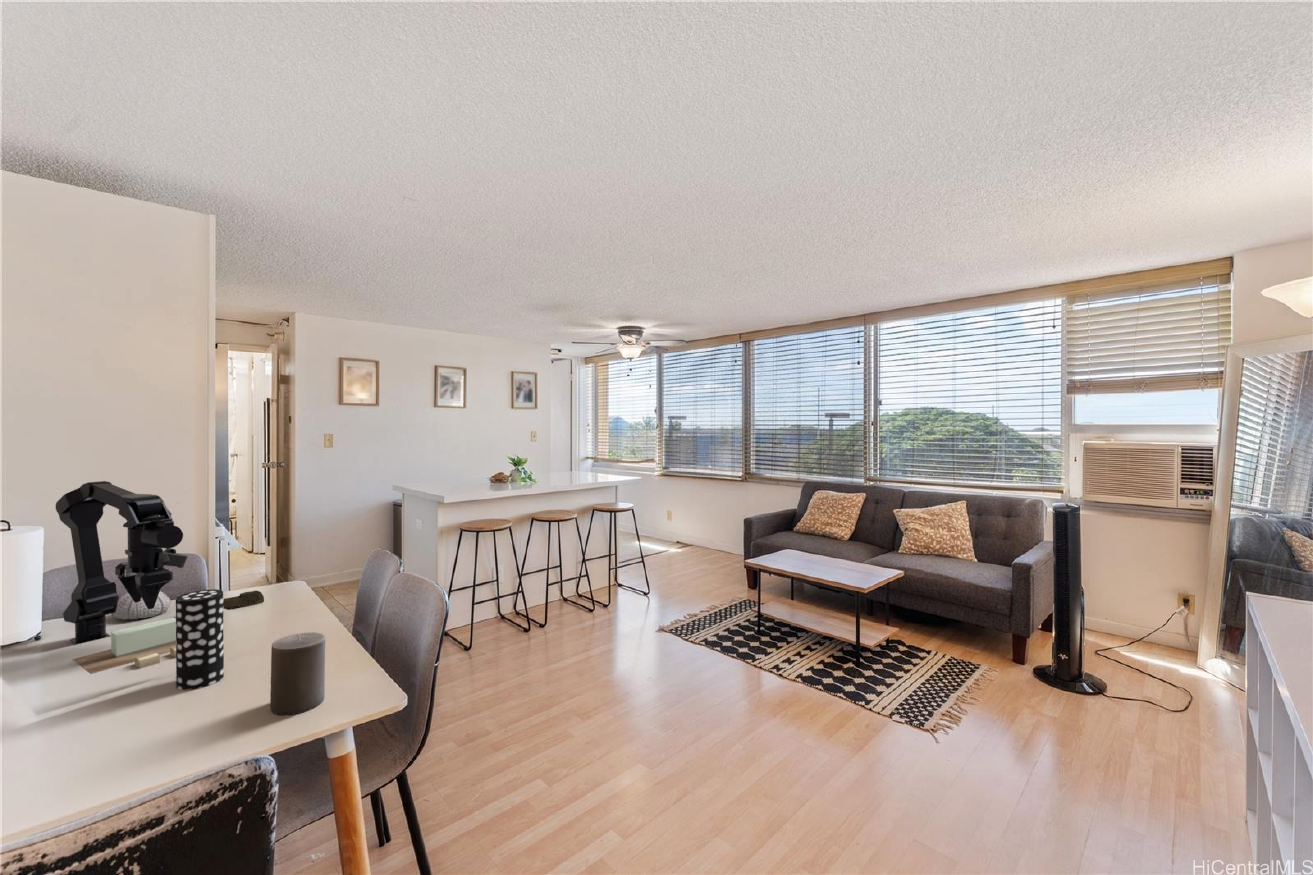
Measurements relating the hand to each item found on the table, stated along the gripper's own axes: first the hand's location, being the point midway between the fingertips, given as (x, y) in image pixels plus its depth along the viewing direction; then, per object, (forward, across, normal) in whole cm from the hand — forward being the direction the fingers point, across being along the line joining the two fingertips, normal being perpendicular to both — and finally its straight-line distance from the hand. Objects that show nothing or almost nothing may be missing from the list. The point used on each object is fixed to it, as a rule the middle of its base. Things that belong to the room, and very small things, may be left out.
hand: (143, 605), depth 138 cm
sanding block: (+10, -2, 0) cm, 11 cm away
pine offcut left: (+10, -12, +3) cm, 16 cm away
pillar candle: (+12, -60, -8) cm, 62 cm away
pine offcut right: (+10, -12, -3) cm, 16 cm away
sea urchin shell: (+12, +34, -9) cm, 37 cm away
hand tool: (+12, +20, -25) cm, 34 cm away
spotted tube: (+12, -31, -1) cm, 33 cm away
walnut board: (+12, -3, 0) cm, 12 cm away
